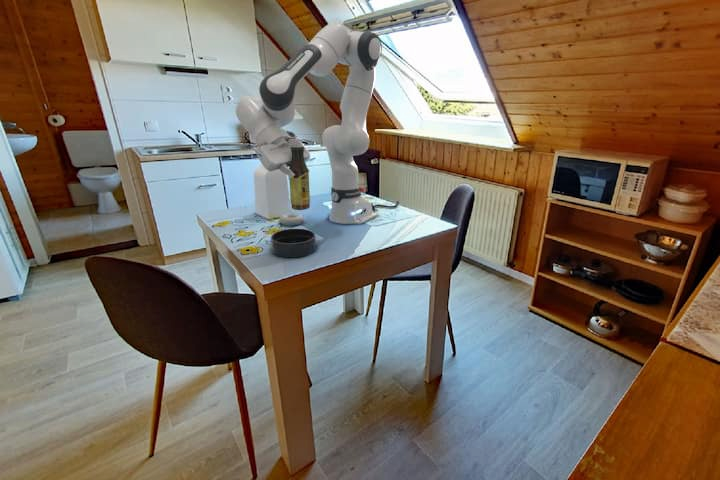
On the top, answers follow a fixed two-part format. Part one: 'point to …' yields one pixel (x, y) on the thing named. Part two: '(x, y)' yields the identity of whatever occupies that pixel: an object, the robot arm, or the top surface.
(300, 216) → the donut
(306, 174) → the sauce bottle
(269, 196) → the milk
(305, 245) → the pan
